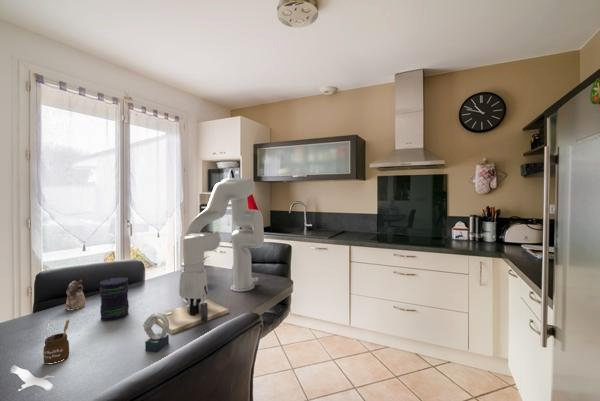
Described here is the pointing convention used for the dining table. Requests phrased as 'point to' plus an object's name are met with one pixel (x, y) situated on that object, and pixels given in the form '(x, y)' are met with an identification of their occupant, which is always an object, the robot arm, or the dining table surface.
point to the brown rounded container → (56, 346)
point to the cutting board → (189, 316)
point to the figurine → (75, 296)
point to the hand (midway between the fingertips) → (194, 314)
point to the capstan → (202, 310)
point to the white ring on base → (157, 339)
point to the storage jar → (114, 298)
